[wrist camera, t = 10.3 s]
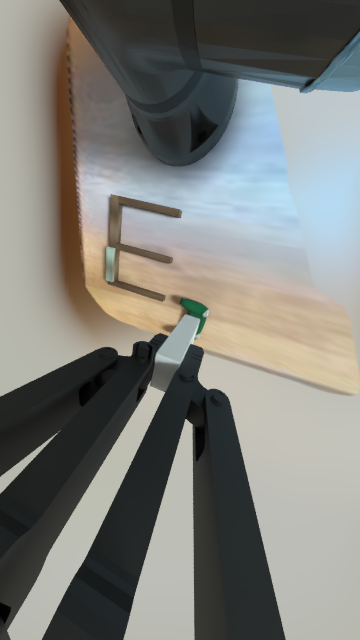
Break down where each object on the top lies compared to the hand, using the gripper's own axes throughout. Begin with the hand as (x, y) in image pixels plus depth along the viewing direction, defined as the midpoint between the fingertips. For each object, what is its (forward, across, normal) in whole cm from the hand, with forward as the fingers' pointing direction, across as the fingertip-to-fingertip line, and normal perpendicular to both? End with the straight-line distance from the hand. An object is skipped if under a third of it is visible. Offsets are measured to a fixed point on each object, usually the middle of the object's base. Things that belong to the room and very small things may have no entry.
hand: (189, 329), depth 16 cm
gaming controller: (+18, -5, -8) cm, 20 cm away
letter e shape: (+20, -15, +3) cm, 25 cm away
